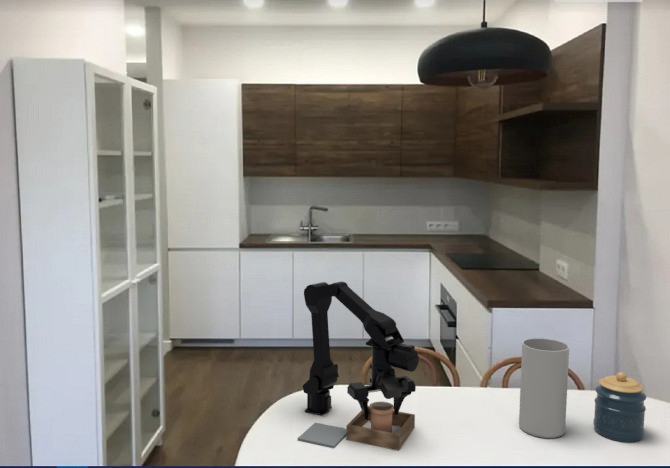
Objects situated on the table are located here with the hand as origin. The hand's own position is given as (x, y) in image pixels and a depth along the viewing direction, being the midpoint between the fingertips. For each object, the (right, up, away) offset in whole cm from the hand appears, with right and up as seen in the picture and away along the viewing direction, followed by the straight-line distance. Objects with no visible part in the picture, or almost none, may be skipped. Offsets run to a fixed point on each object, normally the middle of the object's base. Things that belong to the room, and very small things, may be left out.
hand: (381, 416), depth 161 cm
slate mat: (-16, -5, -1) cm, 17 cm away
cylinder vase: (+46, -5, +4) cm, 47 cm away
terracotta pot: (0, -5, 0) cm, 5 cm away
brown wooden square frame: (0, -5, 0) cm, 5 cm away
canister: (+68, -5, +2) cm, 68 cm away
